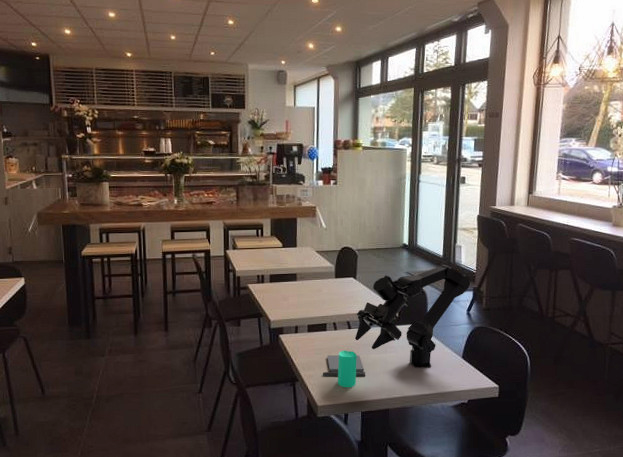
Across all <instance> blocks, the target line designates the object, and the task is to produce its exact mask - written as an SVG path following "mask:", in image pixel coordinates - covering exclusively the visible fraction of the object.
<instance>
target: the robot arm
mask: <svg viewBox="0 0 623 457" xmlns="http://www.w3.org/2000/svg"><path fill="white" fill-rule="evenodd" d="M442 280H444V283H443V290H442V292H441V293H440V294H439V295H438V297H437V298H436V300H435V301H434V303H433V304H432V305H431V307H430V308H429V309H428V311H427V312H426V314H425V315H424V317H423V318H422V319H421V320H419V321H417V320H413V321H412V323H411V325H410V326H409V327H408V328H407V331H406V334H405V335H406V340H407V342H408V345H409V346H411V349H410V351H409V361H410V363H411V364H412V367H413V368H421V367H422V368H423V367H424V368H431V367H432V364H431V355H432V354H431V353H432V351H433V352H434V351H435V348H436V343H435V342H434V341H433V340H432V338H433V336H434V327H435V326H436V325H437V323H438V322H439V321H440V319H441V318H442V317H443V315H444V313H446V311H447V309H448V308H449V307H450V305H451V304H452V303H453V301H454V299H456V298H457V297H459V296H461V295H464V294H465V292H466V291H467V290H469V288H470V286H471V281H470V280H471V279H470V278H469V276H468V275H465V274H462V273H460V272H459V271H457V270H455V269H454V268H453V267H452V266H449V265H445V264H440V265H439V266H437V267H435V268H432V269H430V270H427V271H424V272H422V273H420V274H417V275H404V276H400V277H398V279H397V280H392V278H391V277H390V276H389V275H384V276H383V277H381V278H379V279H377V280H376V281H375V282H374V283H373V286H372V288H373V290H374V292H376V294H378V297H380V298H381V299H382V300H383V301H384V303H383V304H382V303H379V304H378V305H375V304H373V303H370V302H366V304H365V306H364V308H363V309H359V310H358V312H357V313H356V316H357V319H358V322H359V324H358V328H357V331H356V333H355V337H354V339H355V341H359V339H361V338H363V336H364V335H366V334H367V333H368V332H369V331H370V330H371V329H372V326H376V327H379V328H380V331H379V332H380V333H379V335H378V336H377V338H376V339H375V341H374V343H373V344H372V346H371V349H372V350H376V349H377V348H380V347H381V346H383V345H385V344H387V343H390V342H393V341H394V342H395V341H396V340H397V341H399V340H400V338H402V334H403V332H402V331H401V330H400V329H399V328H398V326H397V325H396V324H394V323H392V322H393V320H397V319H398V317H399V316H398V313H399V312H400V311H401V309H402V308H403V307H404V306H406V307H409V306H410V300H409V299H410V297H415V296H416V295H418V294H419V293H421V291H422V290H423V288H426V287H427V286H430V285H432V284H435V283H437V282H440V281H442ZM405 295H406V296H408V297H406V296H405Z"/></svg>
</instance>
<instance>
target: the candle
mask: <svg viewBox="0 0 623 457" xmlns="http://www.w3.org/2000/svg"><path fill="white" fill-rule="evenodd" d="M338 355H339V364H338V376H337V385H338V386H340V387H344V388H352V387H354V386H356V382H357V380H356V379H357V376H356V360H357V355H358V354H357V353H356V352H354V350H353V351H352V350H351V351H349V350H341V351H340V352H339V353H338Z"/></svg>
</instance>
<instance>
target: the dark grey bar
mask: <svg viewBox="0 0 623 457" xmlns="http://www.w3.org/2000/svg"><path fill="white" fill-rule="evenodd" d="M322 376H323V377H338V372H330V371H328V372H327V371H326V372H325V371H324V372H322ZM356 377H366V372H365V371H364V372H356Z"/></svg>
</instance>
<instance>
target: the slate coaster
mask: <svg viewBox="0 0 623 457" xmlns="http://www.w3.org/2000/svg"><path fill="white" fill-rule="evenodd" d="M356 355H357V360H356V372H365V369H364V365H363V363H362V359H361V357H360V354H359V355H358V354H356ZM326 357H327V362H328V363H327V365H328V369H329V372H338V364H339V354H338V355H336V354H335V355H331V354H330V355H328V354H327V356H326Z"/></svg>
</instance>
